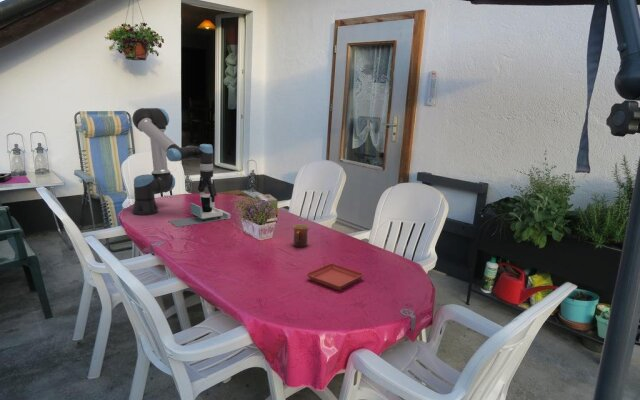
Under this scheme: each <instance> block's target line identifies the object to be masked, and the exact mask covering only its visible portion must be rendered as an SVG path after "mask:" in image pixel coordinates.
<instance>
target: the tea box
mask: <svg viewBox="0 0 640 400" xmlns="http://www.w3.org/2000/svg"><path fill="white" fill-rule="evenodd" d="M254 199H259V200H265V201H267V202H269V203H271V204H272V205H273V206H274V208H275V210H274V211H275V215H276V218H277V219H278V206H279V205H278V203H279V202H278V199H277V198H276V197H275V196H273V195H271V194H256V195H255V198H254Z"/></svg>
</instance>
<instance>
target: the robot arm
mask: <svg viewBox="0 0 640 400" xmlns="http://www.w3.org/2000/svg"><path fill="white" fill-rule="evenodd" d="M131 120H132V123H133V126H134V127H135V128H136V129H137V130H138V131H139V132H143V133H144V134H145V135H146V136H147V137H148V138H149V139H150V150H151V158H152V159H151V161H152V167H153V170H152V172H151V174H148V173H147V174H146V173H145V174H141V175H138V176H136V177H135V178H133V190H134V191H133V192H134V202H133V206H132V214H133V215H136V216H149V215H150V214H151V215H154V214H157V213H158V212H159V208H158V205H157V203H156V198H155V195H159V194H163V193H168V192H170V191H171V192H172V191H173V189H174V188H175V186H176V178H175V177H174V175H173V174H172V173H171V170H169V169H168V161H170V162H181V161H187V160H189V161H190V160H199V169H200V171H199V173H200V174H199V182H198V187H197V191H199V203H201V204H202V202H201V196H200V195H202V194H206V193H205V189H206V188H207V189H208V192H209V193H208V194H210V207H214V208H216V206H215V205H216V200H215V198H216V197H217V194H218V193H217V190H216V186H215V180H214V179H212V178H214V171H213V170H214V163H213V161H214V158H213V157H214V155H213V154H214V149H213V145H212V144H210V143H208V144H207V143H202V144H200V145H199V146H195V145H187V146H184V147H183V146H181V147H180V146H179V145H177V144H176V142H174V141H173V140H172V139H171V138H170V137H169V136H167V134H166V133H165V131H166V130H167V126H168V125H169V123H170V117H169V114H168V113H167V111H166V110H165V109H163V108H161V107H147V108H146V107H145V108H144V107H141V108H138V109H137V110H135V111H134V112H133V114H132V117H131ZM151 215H150V216H151Z"/></svg>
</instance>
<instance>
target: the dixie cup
mask: <svg viewBox="0 0 640 400" xmlns="http://www.w3.org/2000/svg"><path fill="white" fill-rule="evenodd" d="M200 196H201V202H202V203H201V207H202V210H203V213H204V214H207V213H211V211H212V207H210V193H205V194H202V195H200V194H199V197H200Z"/></svg>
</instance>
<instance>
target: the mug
mask: <svg viewBox="0 0 640 400" xmlns="http://www.w3.org/2000/svg"><path fill="white" fill-rule="evenodd" d="M292 229H293V238H292V239H293V246H294V247H297V248H304V247H306V246H307V245H308V243H309V241H308V239H309V237H308V236H309V234H308V233H309V230H310V226H309V225H307V224H301V223H299V224H294V225H292Z"/></svg>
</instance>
